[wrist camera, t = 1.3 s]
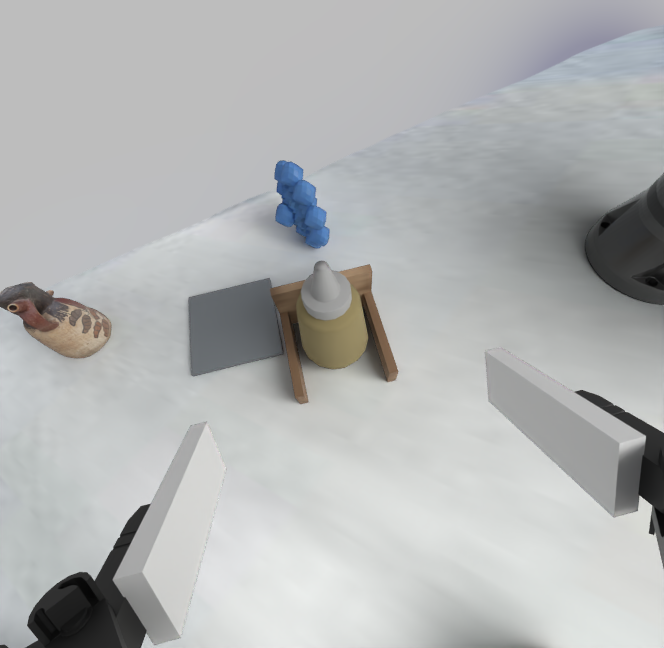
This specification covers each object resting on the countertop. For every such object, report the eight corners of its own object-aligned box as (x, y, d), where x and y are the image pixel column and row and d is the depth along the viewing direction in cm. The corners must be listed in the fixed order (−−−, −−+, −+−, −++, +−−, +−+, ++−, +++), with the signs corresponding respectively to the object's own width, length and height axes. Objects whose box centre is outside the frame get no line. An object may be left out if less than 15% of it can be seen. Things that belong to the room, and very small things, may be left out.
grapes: (267, 224, 53) (243, 159, 42) (303, 205, 54) (288, 137, 43) (303, 273, 48) (286, 213, 37) (341, 251, 49) (335, 187, 39)
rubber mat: (270, 279, 48) (269, 278, 48) (283, 354, 43) (282, 352, 42) (190, 299, 48) (188, 297, 47) (193, 376, 43) (191, 375, 42)
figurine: (105, 305, 49) (32, 255, 38) (117, 342, 46) (42, 299, 35) (58, 329, 47) (-31, 285, 37) (67, 369, 45) (-27, 333, 34)
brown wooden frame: (368, 298, 45) (369, 264, 38) (395, 380, 40) (402, 358, 33) (284, 319, 45) (269, 288, 38) (300, 404, 40) (286, 387, 33)
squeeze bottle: (293, 346, 43) (252, 265, 27) (339, 309, 45) (326, 213, 29) (333, 391, 40) (314, 330, 24) (381, 349, 42) (392, 267, 26)
